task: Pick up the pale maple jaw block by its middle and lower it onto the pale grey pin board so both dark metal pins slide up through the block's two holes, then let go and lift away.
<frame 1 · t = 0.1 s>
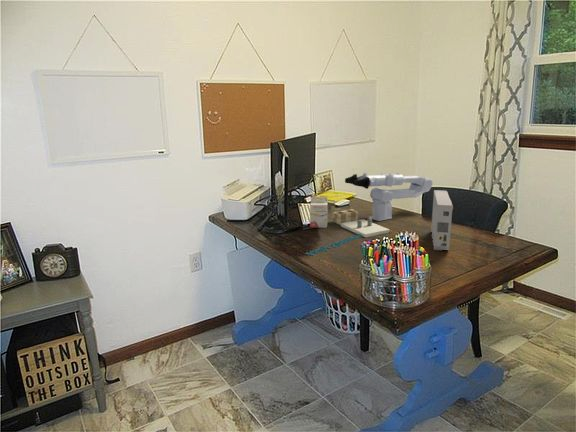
hand: (349, 181, 205), 22 cm above the table, tool horizontal, fingers open, 7 cm apart
jaw block: (345, 221, 216), on the table
ink cartridge box: (318, 226, 209), on the table
nameplate: (337, 245, 183), on the table
game console: (439, 242, 183), on the table
pin board: (364, 229, 202), on the table
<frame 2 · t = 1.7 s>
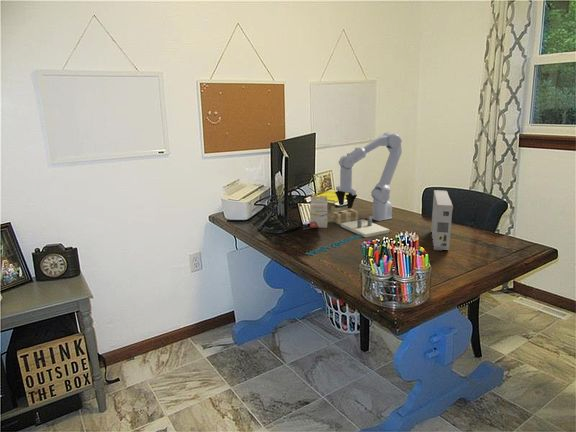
hand: (345, 206, 214), 8 cm above the table, tool pointing down, fingers open, 7 cm apart
nothing on the table moved.
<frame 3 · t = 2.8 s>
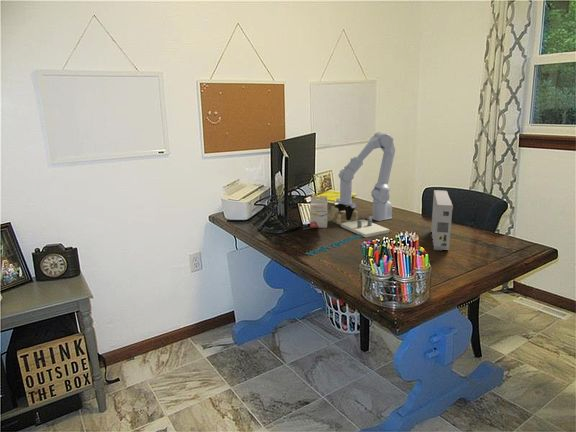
hand: (345, 218, 216), 1 cm above the table, tool pointing down, fingers closed on jaw block, 5 cm apart
jaw block: (345, 221, 216), on the table, touching gripper
everything else where it was.
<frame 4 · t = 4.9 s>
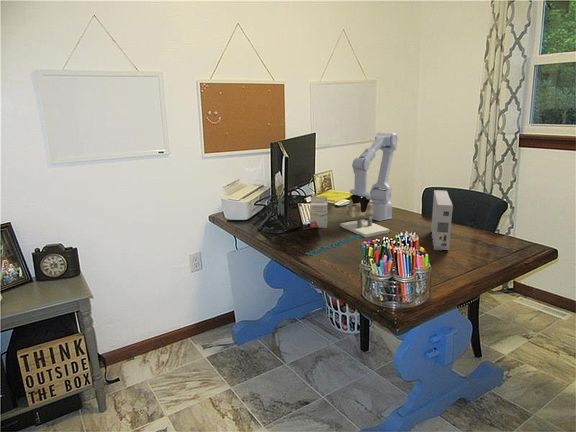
hand: (359, 210, 203), 8 cm above the table, tool pointing down, fingers closed on jaw block, 5 cm apart
jaw block: (359, 214, 204), point 6 cm above the table, touching gripper
everything else where it was.
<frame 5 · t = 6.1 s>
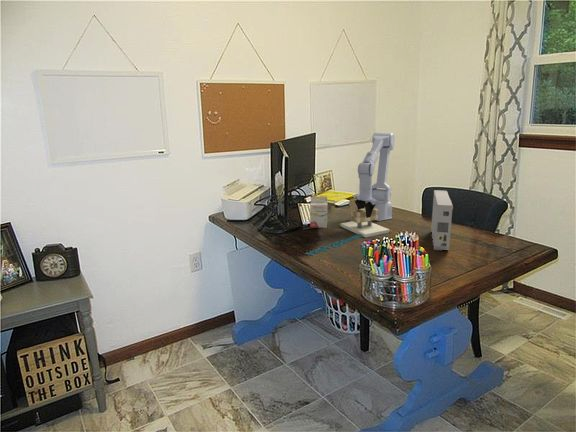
hand: (364, 216, 200), 7 cm above the table, tool pointing down, fingers closed on jaw block, 5 cm apart
jaw block: (364, 220, 201), point 5 cm above the table, touching gripper
everything else where it was.
when the fingers open (4 cm above the table, at t = 7.2 s): jaw block stays where it is, resting on pin board.
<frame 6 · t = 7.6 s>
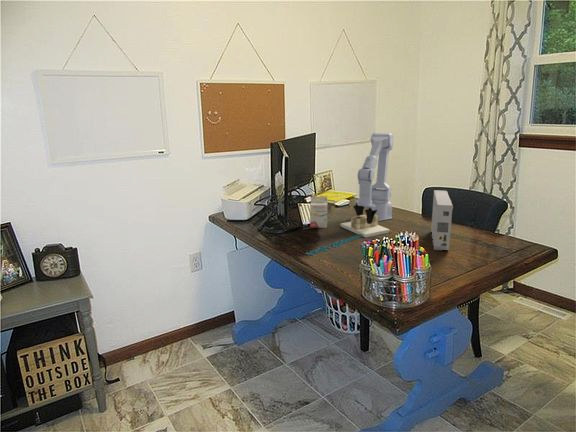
hand: (364, 221, 201), 4 cm above the table, tool pointing down, fingers open, 7 cm apart
jaw block: (364, 226, 202), point 1 cm above the table, touching pin board
everything else where it was.
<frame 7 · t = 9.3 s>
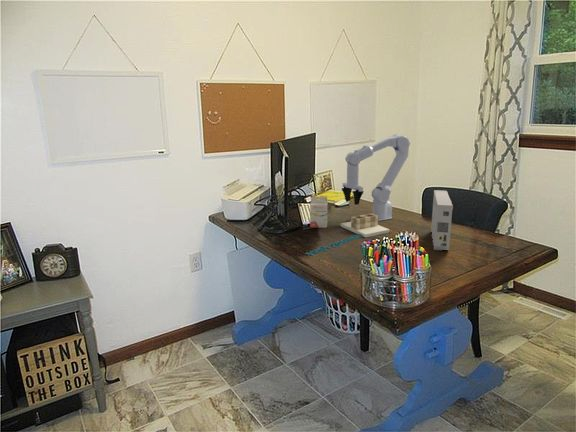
hand: (352, 202, 215), 9 cm above the table, tool pointing down, fingers open, 7 cm apart
nothing on the table moved.
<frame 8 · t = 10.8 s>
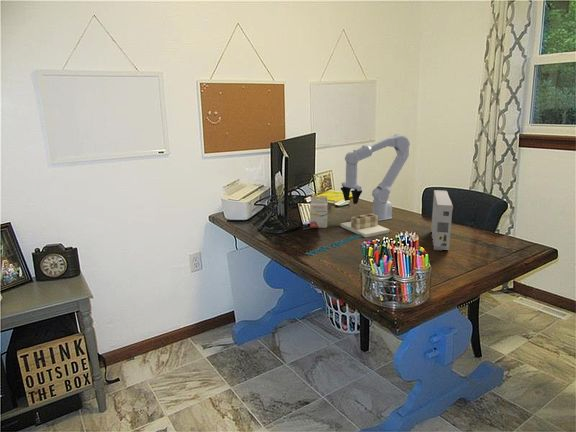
hand: (351, 202, 216), 9 cm above the table, tool pointing down, fingers open, 7 cm apart
nothing on the table moved.
at the end: jaw block 0.0 cm off-centre on the pin board, point 1.5 cm above the pin board's base; jaw block tilted 0°; the gripper is holding nothing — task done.
